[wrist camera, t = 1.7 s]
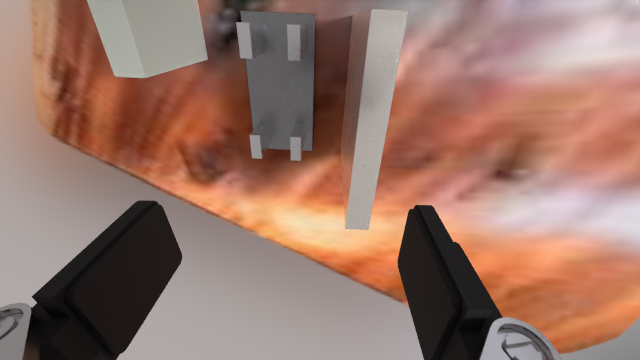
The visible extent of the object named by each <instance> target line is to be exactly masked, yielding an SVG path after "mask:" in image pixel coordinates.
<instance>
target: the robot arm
mask: <svg viewBox="0 0 640 360" xmlns="http://www.w3.org/2000/svg"><path fill="white" fill-rule="evenodd" d="M181 260H182V253H181V251H180V248H179V246H178V243H177V241H176V238H175V236H174V233H173V231H172V229H171V226H170V224H169V221H168V219H167V216H166V214H165V211H164V209H163V207H162V206H161V205H159V204H158V202H156V201H137V202H136V203H134V204H133V205H132V206H131V207H130V208H129V209H128V210H127V211H125V212H124V213H123V214H122V215H121V216H120V217H119V218H118V219H117V220H116V221H115V222H113V223H112V224H111V225H110V226H109V227H108V228H107V229H106V230H105V231H104V232H102V233H101V234H100V235H99V236H98V237H97V238H96V239H95V240H94V241H92V242H91V243H90V244H89V245H88V246H87V247H86V248H85V249H84V250H83V251H81V253H79V254H78V255H77V256H76V257H75V258H74V259H73V260H72V261H70V262H69V263H68V264H67V265H66V266H65V267H64V268H63V269H62V270H61V271H60V272H58V273H57V274H56V275H55V276H54V277H53V278H52V279H51V280H50V281H48V282H47V283H46V284H45V285H44V286H43V287H42V288H41V289H40V290H39V291H38V292H36V293H35V294H34V295H33V296H32V297H33V299H34V300H35V301H36V302H37V304H36V305H35V306H34V307H33V308H31V307H30V306H29V305H27V304H24V303H16V304H10V305H7V306H4V307H1V308H0V360H116V359H117V357H118V356H119V354H121V353H123V352H124V351H125V350H126V349H127V347H128V346H129V344H130V343H131V341H132V339H133V338H134V336H135V335H136V333H137V332H138V330H139V328H140V327H141V325H142V324H143V322H144V320H145V319H146V317H147V315H148V314H149V312H150V311H151V309H152V308H153V306H154V304H155V303H156V301H157V300H158V298H159V297H160V295H161V293H162V292H163V290H164V289H165V287H166V285H167V284H168V282H169V281H170V279H171V277H172V275H173V274H174V273H175V271H176V269H177V268H178V266H179V265H180V263H181ZM398 268H399V272H400V276H401V279H402V283H403V286H404V290H405V293H406V297H407V300H408V304H409V308H410V311H411V315H412V318H413V322H414V325H415V329H416V332H417V336H418V339H419V343H420V346H421V350H422V354H423V357H424V360H561V358H560V356H559V353H558V351H557V350H556V348H555V347H554V346H553V345H552V343H551V342H550V341H549V340H548V339H547V338H546V337H545V336H544V335H543V334H542V333H541V332H540V331H538V330H537V329H535V328H534V327H532V326H531V325H529V324H527V323H525V322H522V321H520V320H518V319H513V318H503V317H502V315H501V314H500V312H499V310H498V309H497V307H496V305H495V304H494V302H493V300H492V298H491V297H490V295H489V293H488V292H487V290H486V288H485V287H484V285H483V283H482V282H481V280H480V278H479V276H478V275H477V273H476V271H475V270H474V268H473V266H472V265H471V263H470V261H469V260H468V258H467V256H466V255H465V253H464V251H463V249H462V248H461V246H460V245H459V244H458V243H456V242H453V241H452V239H451V237H450V235H449V234H448V232H447V230H446V228H445V227H444V225H443V223H442V221H441V219H440V218H439V216H438V214H437V212H436V211H435V209H434V207H433V206H431V205H416V206H415V207H414V209H410V210H409V212H408V217H407V221H406V225H405V230H404V234H403V239H402V243H401V248H400V252H399V257H398Z"/></svg>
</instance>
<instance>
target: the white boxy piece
mask: <svg viewBox="0 0 640 360" xmlns="http://www.w3.org/2000/svg"><path fill="white" fill-rule="evenodd" d="M240 13H241V22H236V24H237V33H238V42H239V50H240V58H245V59H246V68H247V78H248V87H249V96H250V106H251V115H252V124H253V131H252V132H251V133H250V135H249V136H250V144H251V153H252V158H258V159H262V158H263V156H264V154H265V152H266V150H267V149H284V150H291V160H296V161H301V157H302V153H303V151H312V144H313V100H314V55H315V14H302V13H278V12H255V11H240ZM407 16H408V11H406V10H382V9H370V10H367V11H365V12H362V13H359V14H356V15H353V16H352V26H351V38H350V49H349V61H348V72H347V84H346V95H345V107H344V118H343V129H342V141H341V164H342V181H343V197H344V214H345V229H360V230H368V229H369V223H370V218H371V212H372V207H373V201H374V196H375V190H376V185H377V180H378V174H379V169H380V163H381V158H382V152H383V147H384V141H385V136H386V130H387V125H388V120H389V114H390V109H391V103H392V98H393V92H394V87H395V81H396V76H397V70H398V65H399V60H400V54H401V49H402V43H403V38H404V32H405V27H406V21H407Z"/></svg>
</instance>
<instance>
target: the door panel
mask: <svg viewBox="0 0 640 360" xmlns="http://www.w3.org/2000/svg"><path fill="white" fill-rule="evenodd" d="M87 2H88V5H89V8H90V10H91V13H92V16H93V18H94V21H95V24H96V27H97V29H98V32H99V35H100V38H101V40H102V43H103V46H104V49H105V51H106V54H107V57H108V59H109V62H110V65H111V68H112V70H113V73H114V76H115V77H132V78H148V77H151V76H155V75H158V74H161V73H165V72H168V71H171V70H175V69H178V68H181V67H185V66H188V65H191V64H195V63H198V62H202V61H205V60H208V57H207V51H206V46H205V40H204V35H203V29H202V23H201V18H200V12H199V6H198V1H197V0H87Z"/></svg>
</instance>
